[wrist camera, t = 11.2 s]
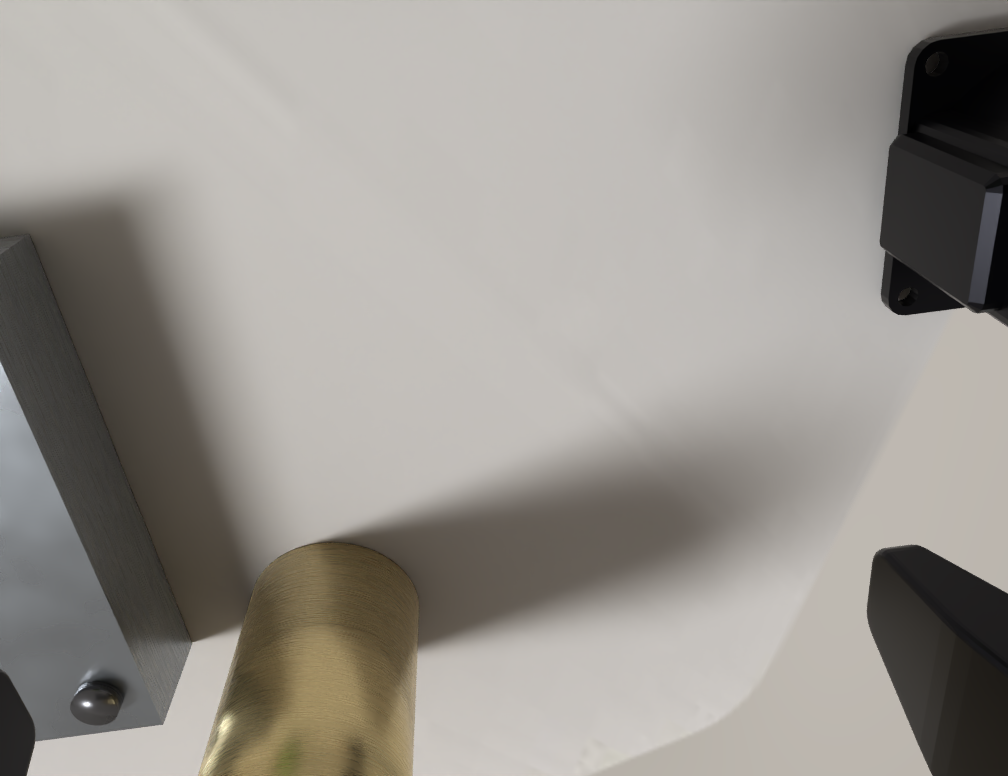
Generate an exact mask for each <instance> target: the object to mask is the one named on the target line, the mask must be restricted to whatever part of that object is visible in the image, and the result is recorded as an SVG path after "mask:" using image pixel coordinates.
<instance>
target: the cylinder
mask: <svg viewBox="0 0 1008 776" xmlns="http://www.w3.org/2000/svg"><path fill="white" fill-rule="evenodd" d="M418 623H419V601H418V596H417V592H416V589H415V587H414V585H413V583H412V581H411V580H410V579H409V577H408V576H407V574H406V573H405V572H404V571H403V570H402V569H401V568H400V567H399V566H398V565H397V564H395V563H394V562H393V561H392V560H390V559H388V558H387V557H385V556H384V555H382V554H380V553H377V552H375V551H373V550H370V549H367V548H365V547H361V546H357V545H353V544H345V543H318V544H313V545H307V546H304V547H300V548H297V549H295V550H292V551H290V552H288V553H286V554H284V555H282V556H280V557H279V558H277V559H276V560H275V561H273V562H272V563H271V564H270V565H269V566H268V567H267V568H266V569H265V570H264V571H263V572H262V574H261V575H260V576H259V578H258V580H257V582H256V584H255V586H254V589H253V593H252V596H251V599H250V603H249V606H248V609H247V613H246V616H245V620H244V623H243V626H242V630H241V633H240V636H239V640H238V643H237V646H236V650H235V653H234V657H233V660H232V663H231V667H230V670H229V673H228V677H227V680H226V683H225V687H224V690H223V694H222V697H221V700H220V704H219V707H218V710H217V714H216V717H215V720H214V724H213V727H212V731H211V734H210V737H209V741H208V744H207V747H206V751H205V754H204V758H203V761H202V764H201V768H200V771H199V774H198V776H412V772H413V748H414V723H415V698H416V673H417V648H418Z"/></svg>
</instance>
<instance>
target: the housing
mask: <svg viewBox="0 0 1008 776" xmlns="http://www.w3.org/2000/svg"><path fill="white" fill-rule="evenodd" d="M191 645H192V642H191V639H190V637H189V634H188V632H187V629H186V627H185V624H184V622H183V619H182V617H181V614H180V612H179V609H178V607H177V604H176V602H175V599H174V597H173V594H172V592H171V589H170V587H169V584H168V582H167V579H166V576H165V574H164V571H163V569H162V566H161V564H160V561H159V559H158V556H157V554H156V551H155V549H154V546H153V544H152V541H151V539H150V536H149V534H148V531H147V529H146V526H145V524H144V521H143V519H142V516H141V514H140V511H139V509H138V506H137V504H136V501H135V499H134V496H133V494H132V491H131V489H130V486H129V484H128V481H127V478H126V476H125V473H124V471H123V468H122V466H121V463H120V461H119V458H118V456H117V453H116V451H115V448H114V446H113V443H112V441H111V438H110V436H109V433H108V431H107V428H106V426H105V423H104V421H103V418H102V416H101V413H100V411H99V408H98V406H97V403H96V401H95V398H94V396H93V393H92V391H91V388H90V386H89V383H88V381H87V378H86V375H85V373H84V370H83V368H82V365H81V363H80V360H79V358H78V355H77V353H76V350H75V348H74V345H73V343H72V340H71V338H70V335H69V333H68V330H67V328H66V325H65V323H64V320H63V318H62V315H61V313H60V310H59V308H58V305H57V303H56V300H55V298H54V295H53V293H52V290H51V288H50V285H49V283H48V280H47V277H46V275H45V272H44V270H43V267H42V265H41V262H40V260H39V257H38V255H37V252H36V250H35V247H34V245H33V242H32V240H31V237H30V235H29V234H27V235H19V236H12V237H4V238H0V669H1V670H3V671H4V672H6V673H7V675H8V676H9V677H10V679H11V681H12V683H13V685H14V686H15V688H16V690H17V692H18V694H19V695H20V697H21V699H22V701H23V703H24V704H25V706H26V708H27V710H28V712H29V713H30V715H31V717H32V719H33V722H34V726H35V734H36V736H35V741H42V740H50V739H57V738H65V737H72V736H80V735H87V734H95V733H102V732H110V731H117V730H125V729H133V728H140V727H148V726H155V725H163V723H164V721H165V718H166V715H167V712H168V709H169V707H170V704H171V701H172V698H173V696H174V693H175V690H176V687H177V684H178V682H179V679H180V676H181V673H182V671H183V668H184V665H185V662H186V659H187V657H188V654H189V651H190V648H191Z"/></svg>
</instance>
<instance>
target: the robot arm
mask: <svg viewBox="0 0 1008 776" xmlns="http://www.w3.org/2000/svg"><path fill="white" fill-rule="evenodd" d="M936 52H937V54H938V55H939V62H938V65H937V67H936V68H935V69H934V70H933V71H932V72H930V73H927V72H926V68H925V65H926V62H927V59H928V58H929V57H930V56H931V55H932V54H934V53H936ZM880 245H881V247H882V248H883V249H884V250H886V251H885V261H884V270H883V279H882V289H881V298H882V301H883V303H884V304H885V306H886V307H888V308H889V309H890V310H891V311H892V312H894V313H896V314H898V315H911V314H919V313H926V312H934V311H942V310H949V309H957V308H964V307H966V308H968V309H969V310H971V311H972V312H974V313H984V312H986V313H988V314H989V315H991V316H992V317H994V318H995V319H997V320H998V321H1000V322H1001V323H1003V324H1004V325H1006V326H1007V327H1008V28H1003V29H995V30H987V31H980V32H972V33H964V34H957V35H949V36H941V37H934V38H929V39H926V40H923V41H921V42H920V43H918V44H917V45H916V46H915V47H914V48H913V49H912V50H911V52H910V53H909V55H908V58H907V61H906V65H905V73H904V83H903V92H902V101H901V111H900V120H899V129H898V136H897V137H896V139H895V140H894V141H893V143H892V144H891V145H890V148H889V157H888V167H887V176H886V186H885V196H884V206H883V215H882V225H881V235H880ZM909 287H910V289H911V290H910V293H909V295H908V296H907V297H906V298H905V299H902V300H898V297H899V294H900V293H901V292H902V291H903V290H904V289H906V288H909ZM867 618H868V624H869V627H870V630H871V633H872V636H873V638H874V640H875V643H876V645H877V648H878V650H879V652H880V655H881V657H882V659H883V662H884V664H885V666H886V669H887V671H888V674H889V676H890V678H891V681H892V683H893V686H894V688H895V690H896V693H897V695H898V697H899V700H900V702H901V704H902V707H903V709H904V712H905V714H906V716H907V719H908V721H909V723H910V726H911V728H912V730H913V733H914V735H915V738H916V740H917V743H918V745H919V747H920V749H921V751H922V754H923V756H924V758H925V761H926V763H927V765H928V767H929V769H930V771H931V773H932V775H933V776H1008V594H1007V593H1006V592H1004V591H1002V590H1000V589H998V588H997V587H995V586H993V585H991V584H989V583H988V582H986V581H984V580H982V579H980V578H979V577H977V576H975V575H973V574H971V573H969V572H968V571H966V570H964V569H962V568H960V567H959V566H956V565H955V564H953V563H951V562H949V561H948V560H946V559H944V558H942V557H940V556H939V555H937V554H935V553H933V552H931V551H929V550H928V549H926V548H924V547H921V546H918V545H905V546H897V547H890V548H883V549H881V550H879V551H878V552H876V554H875V556H874V558H873V562H872V570H871V578H870V586H869V595H868V603H867ZM35 736H36V734H35V726H34V722H33V719H32V717H31V715H30V713H29V712H28V710H27V708H26V706H25V704H24V703H23V701H22V699H21V697H20V695H19V694H18V692H17V690H16V688H15V686H14V685H13V683H12V681H11V679H10V677H9V676H8V675H7V673H6V672H4V671H3V670H1V669H0V776H27V772H28V768H29V764H30V761H31V757H32V753H33V749H34V745H35Z"/></svg>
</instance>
